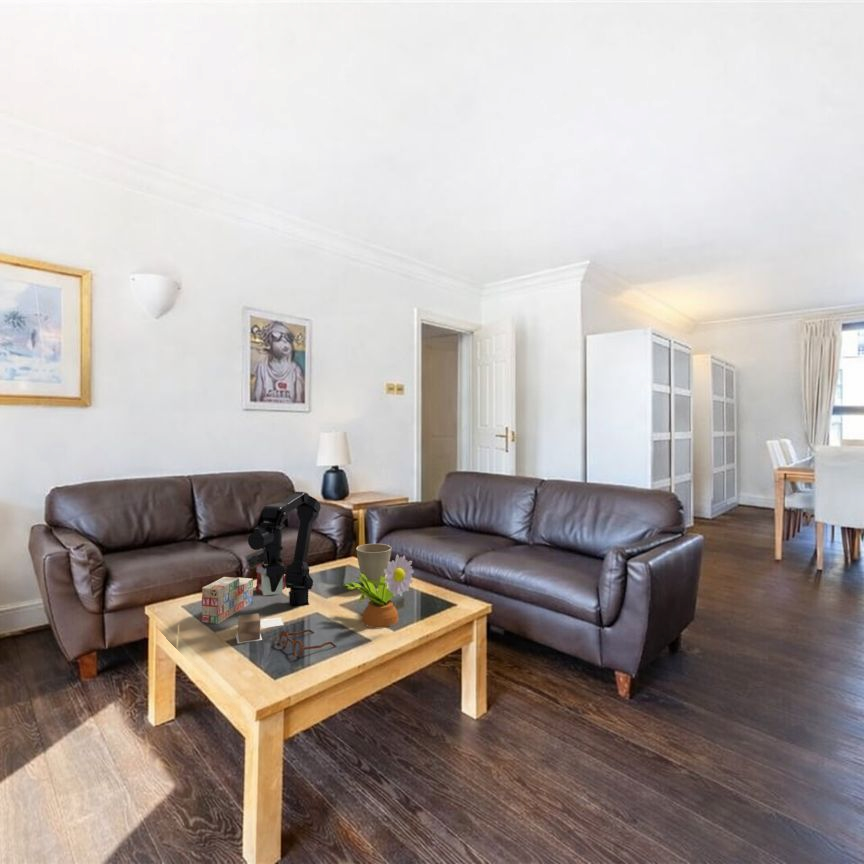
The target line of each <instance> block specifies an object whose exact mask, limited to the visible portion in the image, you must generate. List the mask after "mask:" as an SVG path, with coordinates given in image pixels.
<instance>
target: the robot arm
mask: <svg viewBox="0 0 864 864" xmlns="http://www.w3.org/2000/svg"><path fill="white" fill-rule="evenodd" d="M321 507H322V506H321V503H320V502H319V501H318V500H317V498H315V497H313V496H311V495H309V493H308V492H306V491H294V492H293V493H292V494H291V495H290V496H288V497H286V498H284V499H283V500H280V502H278V503H271V504H267V505H265V506H264V507H263V508H262V510H261V511H260V515H259V517H258V519H257V521H256V524H255V528H254V529H253V532H252V533H251V534H249V537H248V538H247V542H248V543H247V544H248V545H249V547H250V548H251V549H252V550H254V551H255V552H253V553H250V554H248V555H246V556H245V561H246V562H247V564H248V567H249V569H252V568H254V567H257V566H258V565H261V566H262V567H263V568H264V569H265V575H266V576H268V577H269V580H270V586H271V592H275V590H276V588H277V586H278V584H279V582H280V580H281V578H282V576H283V574H284V576H285V583H286V588H285V589H289V591H288V601H287V602H288V604H289V605H290V606H291V607H292V608H295V607H304V606H310V603H309V590H311V589H312V588H313V585H314V579H312V577H311V576H310V575H311V574H310V567H309V565H308V562H307V560H308V554H309V549H310V543H311V542H310V541H311V535H312V529H313V524H314V522H315V521H317V519H318V518H319V514H320V511H321ZM295 509H296V516H297V519H298V521H299V522H298V523H299V524H298V530H297V537H296V542H295V547H294V553H293V560H292V562H290V564H287V566H286V565H285V564H284V563H283V558H282V557H283V556H282V552H283V550H284V549H283V548H284V546H283V529H284V528H285V527H286V525H285V524H284V522H285V521H286V520H287V519H288V514H289V513H291V512H292V511H293V510H295Z"/></svg>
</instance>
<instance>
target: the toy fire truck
mask: <svg viewBox="0 0 864 864" xmlns="http://www.w3.org/2000/svg"><path fill="white" fill-rule="evenodd" d="M255 567H256V569H255V572H256V573H257V574H256V585H255V591H256V593H258V594H263V593H262V590H261V585H262V572H265V569H264V568H263V567H262V566H261V564H258V565H256V566H255ZM285 589H287V588H286V583H285V574H283V584H282V590H285Z"/></svg>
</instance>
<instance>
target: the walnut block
mask: <svg viewBox="0 0 864 864" xmlns="http://www.w3.org/2000/svg"><path fill="white" fill-rule="evenodd" d="M237 617H238V621H237V623H238V624H237V634H238V637H239V642H245V641H252V640H258V639H260V634H261V625H260V620H261V618H260V615H259V612H258V613H251V614H250V613H249V614H244V615H243V614H241V615H238V616H237ZM258 641H259V640H258ZM252 642H253V641H252ZM245 643H246V642H245Z"/></svg>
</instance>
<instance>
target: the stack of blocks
mask: <svg viewBox="0 0 864 864" xmlns="http://www.w3.org/2000/svg"><path fill="white" fill-rule="evenodd" d="M253 583H254V579H253V578H248V577H246V578H245V577H232V576H231V577H230V576H223V577H221V578H219V579H218V580H215V581H213V582H211V583H209V584H206V585H205V586H203V587H202V588H201V589H202V590H201V591H202V592H201V594H202V595H201V623H208V624H209V623H210V624H217V625H218V624H220V623H221V622H223V621H225V620H226V619H228V618H230V617H231V616H233V615H234V614H235V613H237V612H239V611H240V610H242V609H243V608H245V607H247V606H248V605H251V604H253V600H254V584H253Z"/></svg>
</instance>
